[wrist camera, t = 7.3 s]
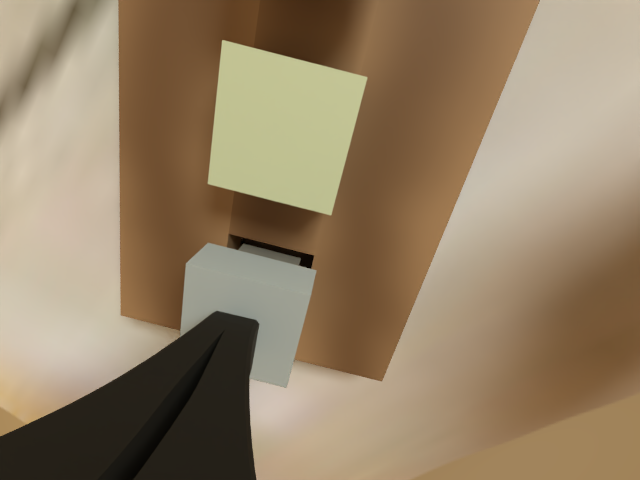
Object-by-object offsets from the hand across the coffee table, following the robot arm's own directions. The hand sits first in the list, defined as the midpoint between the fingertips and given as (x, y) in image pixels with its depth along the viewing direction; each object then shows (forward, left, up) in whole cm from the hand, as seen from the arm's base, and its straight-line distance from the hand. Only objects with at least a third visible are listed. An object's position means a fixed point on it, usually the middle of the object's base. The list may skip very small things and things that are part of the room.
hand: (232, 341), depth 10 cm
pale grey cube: (0, 0, -4) cm, 4 cm away
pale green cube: (0, -6, -5) cm, 8 cm away
